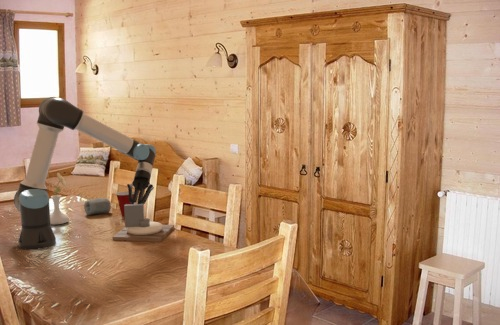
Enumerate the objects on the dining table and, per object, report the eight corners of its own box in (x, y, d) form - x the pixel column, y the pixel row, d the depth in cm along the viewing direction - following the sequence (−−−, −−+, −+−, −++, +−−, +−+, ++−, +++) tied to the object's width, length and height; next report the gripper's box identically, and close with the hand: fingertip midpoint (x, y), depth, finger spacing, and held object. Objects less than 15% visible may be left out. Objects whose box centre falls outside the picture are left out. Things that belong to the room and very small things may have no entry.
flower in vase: (62, 227, 264) (58, 176, 260) (40, 225, 267) (37, 175, 263) (75, 220, 277) (72, 171, 273) (55, 219, 279) (52, 170, 275)
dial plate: (160, 241, 239) (160, 237, 239) (112, 240, 242) (112, 236, 242) (174, 228, 261) (174, 224, 260) (129, 226, 264) (129, 223, 263)
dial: (163, 224, 260) (162, 200, 258) (160, 234, 244) (159, 208, 242) (127, 225, 258) (126, 201, 256) (123, 235, 243) (122, 209, 241)
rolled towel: (84, 211, 281) (87, 193, 284) (81, 216, 289) (84, 198, 292) (110, 215, 285) (113, 197, 289) (107, 219, 294) (110, 202, 297)
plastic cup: (135, 211, 295) (134, 189, 293) (139, 215, 285) (138, 193, 283) (114, 213, 290) (113, 191, 289) (118, 217, 281) (117, 195, 279)
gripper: (158, 177, 268) (149, 220, 255) (132, 177, 269) (122, 219, 256) (154, 169, 262) (145, 212, 248) (128, 168, 263) (117, 211, 250)
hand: (133, 215), depth 252 cm, fingers closed
